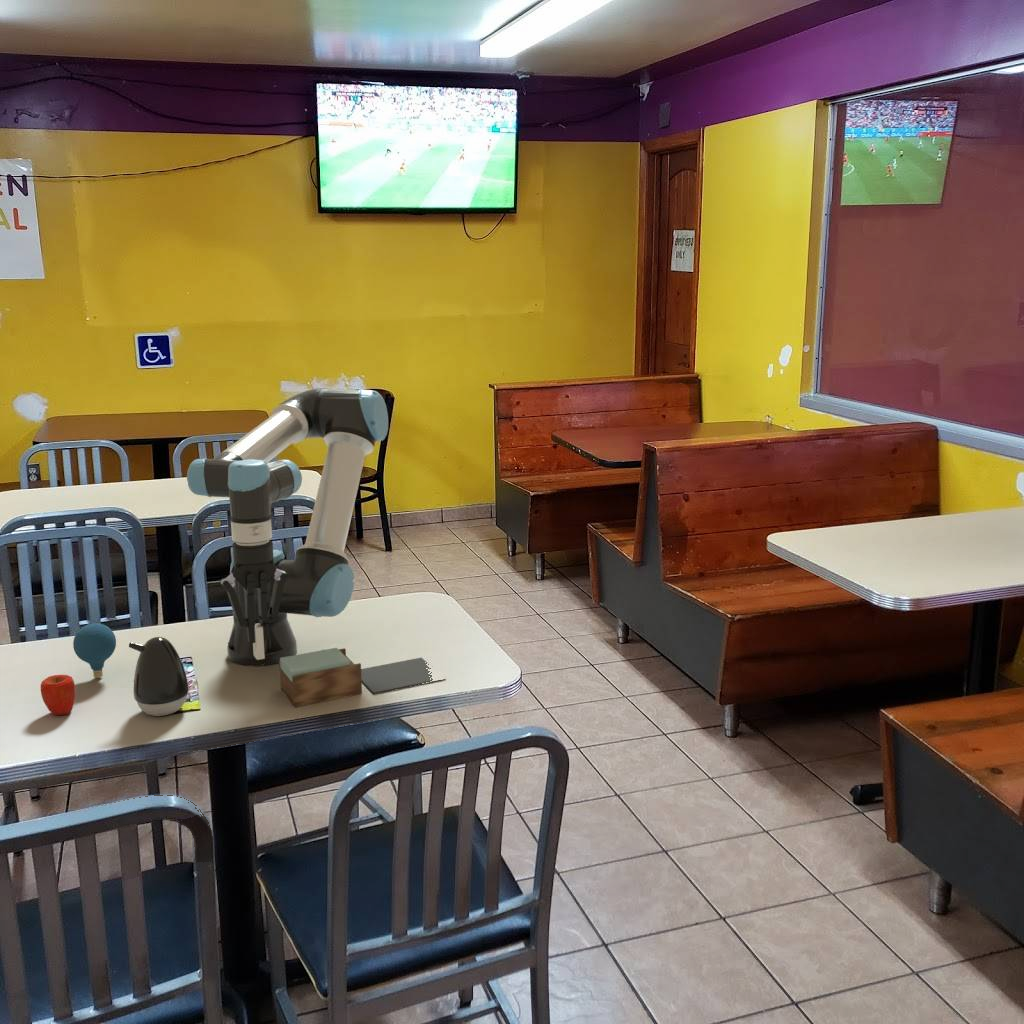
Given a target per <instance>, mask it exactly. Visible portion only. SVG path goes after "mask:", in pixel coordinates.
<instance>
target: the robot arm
mask: <svg viewBox="0 0 1024 1024" xmlns="http://www.w3.org/2000/svg"><path fill="white" fill-rule="evenodd" d="M388 414H389V413H388V408H387V404H386V402H385V400H384V398H383V396H382V394H380V393H379V392H378V391H376V390H371V389H363V388H359V389H351V388H350V389H348V388H346V389H345V388H326V387H323V388H322V387H318V388H311V389H308V390H305V391H303V392H300V393H297V394H295V395H293V396H291V397H289V398H288V399H287V398H286V400H284V401H283V402H281V403H279V404H278V405H277V406H275V407H274V408H273V409H272V410H271V413H270V415H269V417H268V418H266V419H265V420H264V421H262V422H261V423H260V424H258V426H256V427H254V428H253V429H252V430H250V431H249V432H247V433H246V434H245V435H243V436H242V437H241V438H239V439H238V440H237V441H236V442H234V443H233V444H231V445H230V446H229V447H227V448H226V449H225V450H223V451H222V452H221V453H219V454H218V455H216V456H215V457H214V458H207V457H205V458H197V459H194V460H193V461H192V462H191V463H190V464H189V466H188V468H187V471H186V481H187V486H188V489H189V491H190V492H192V493H193V494H195V495H197V496H201V497H208V498H212V497H213V498H214V497H215V498H229V509H230V526H231V527H230V528H231V541H232V542H233V544H232V545H231V546H232V548H231V549H232V561H231V563H230V569H229V575H227V577H222V578H221V579H220V580H219V582H220V584H221V586H222V587H223V588H224V589H225V591H226V594H227V597H228V599H229V602H230V605H231V609H232V615H233V618H232V619H233V624H232V628H231V631H230V637H229V639H228V643H227V649H226V650H227V658H228V660H229V661H231V662H232V663H234V664H238V665H241V666H242V665H243V666H252V667H253V666H268V665H273V664H277V663H278V664H279V660H280V658H282V657H288V656H293V655H297V652H298V648H297V647H298V646H297V645H298V644H297V639H296V636H295V634H294V632H293V629H292V626H291V625H290V622H289V620H288V614H291V615H292V614H293V615H299V616H300V615H301V616H311V617H315V618H322V617H326V618H332V617H336V616H338V615H339V614H341V613H342V612H343V611H344V610H345V609H346V607H348V604H349V602H350V601H351V598H352V595H353V591H354V586H355V582H354V579H355V574H354V571H353V568H352V567H351V566H350V565H349V558H348V557H347V555H346V554H345V547H346V543H347V539H348V534H349V530H350V526H351V520H352V516H353V513H354V512H353V511H354V508H355V503H356V498H357V495H358V490H359V486H360V481H361V477H362V471H363V467H364V462H365V459H366V456H368V455H370V454H371V453H373V452H374V449H375V445H376V442H379V443H380V442H381V441H384V440H385V439H386V437H387V436H388V431H389V415H388ZM313 438H314V439H315V438H316V439H317V438H318V439H320V438H321V439H323V442H324V444H325V445H326V447H327V451H326V454H325V459H324V465H323V467H322V472H321V477H320V481H319V484H318V489H317V494H316V498H315V501H314V506H313V509H312V514H311V518H310V522H309V527H308V531H307V534H306V535H307V536H306V539H305V543H304V544H303V545H301V546H299V547H298V548H297V549H296V551H295V554H294V559H290V560H289V559H285V555H284V554H285V553H284V552H283V551H282V550H278V549H274V546H273V545H274V543H273V541H272V540H271V539H272V538H273V529H272V511H271V510H272V507H271V505H272V504H273V503H276V502H279V501H281V500H286V499H287V498H288V499H289V498H290V497H291V496H292V495H294V494H295V493H298V491H299V489H300V488H301V486H302V482H303V476H302V472H301V470H300V468H299V466H298V465H297V464H296V463H295V462H293V461H292V460H289V459H275V460H274V461H272V460H273V459H274V458H276V457H277V456H278V455H279V454H280V453H281V452H283V451H284V450H285V449H287V448H288V447H289V446H290V445H291V444H292V445H293V444H295V445H296V444H299V443H300V442H302V441H304V440H306V439H313ZM271 461H272V462H271Z"/></svg>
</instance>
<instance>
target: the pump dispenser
mask: <svg viewBox="0 0 1024 1024" xmlns="http://www.w3.org/2000/svg"><path fill="white" fill-rule="evenodd" d="M128 648H130V649H133V650H135V651H137V652H139V656H138V657H137V661H136V665H135V671H134V676H133V691H132V692H133V699H134V700H135V702H136V703H137V705H138V707H139V709H141V711H142V712H144V713H145V714H147V715H150V716H154V717H165V716H168V715H171V714H174V713H176V712H177V711H179V710H180V709H181V708H182V707H183V706H184V704H185V703H186V700H187V696H188V694H189V691H190V689H189V687H190V686H189V681H188V678H187V673H186V669H185V666H184V663H183V661H182V659H181V657H180V655H179V652H178V651H177V649H176V647H175V646H174V645H173V644H172V642H171V641H170V640H169V639H167V638H166V637H164V636H154V637H151V638H149V639H148V640H147V641H145V644H140V643H137V642H133V641H130V642H129V643H128Z"/></svg>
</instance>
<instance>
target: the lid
mask: <svg viewBox="0 0 1024 1024" xmlns="http://www.w3.org/2000/svg"><path fill="white" fill-rule="evenodd" d="M339 649H340V648H338V647H333V648H328V649H322V650H317V651H312V652H311V651H309V652H305V653H299V654H295V655H293V656H288V657H282V658H280V665H281V669H282V670H283V671H284V673H285V674H286V675H287V676H288V678H289V679H290V680H291V681H292V676H295V675H300V674H306V673H311V672H316V671H321V670H327V669H332V668H337V667H343V666H348V665H350V660H351V659H350V658H349V657H348V656H347V655H346V656H347V657H348V658H349V659H350V660H349V659H348V658H347V657H346V656H345V655H344V654H343V653H342V652H341V651H340V650H339ZM292 682H293V681H292Z"/></svg>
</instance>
